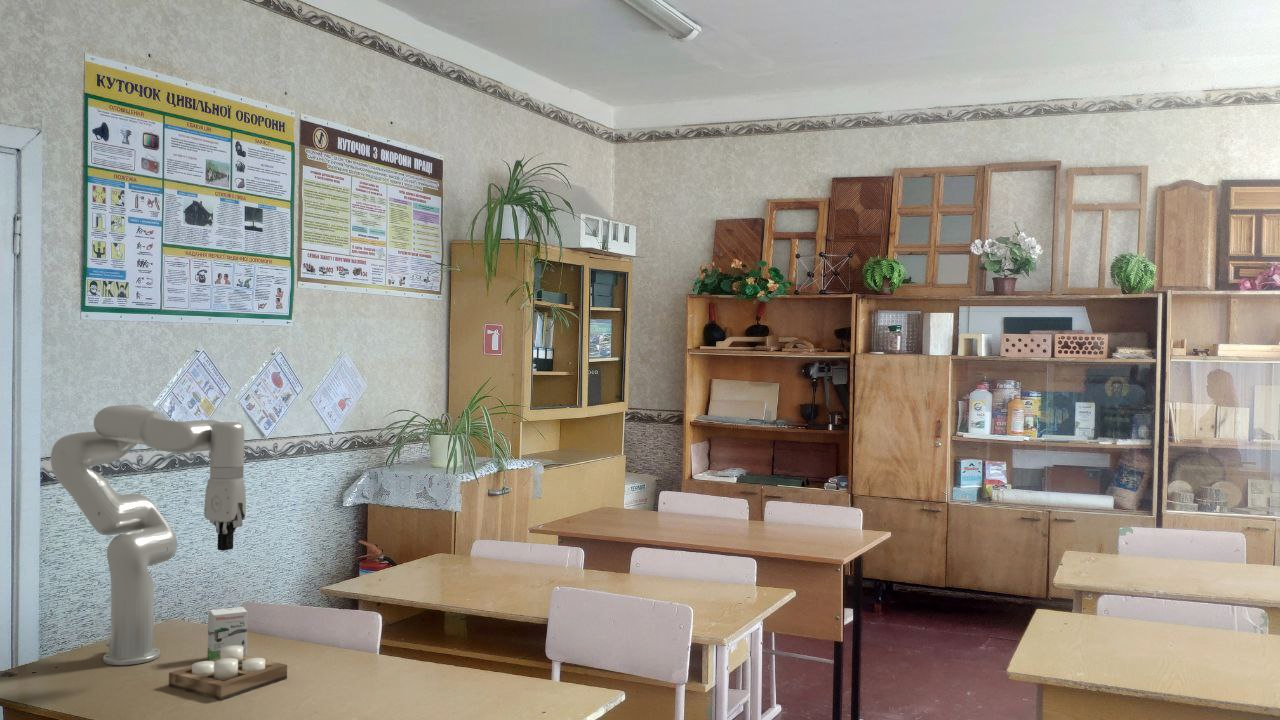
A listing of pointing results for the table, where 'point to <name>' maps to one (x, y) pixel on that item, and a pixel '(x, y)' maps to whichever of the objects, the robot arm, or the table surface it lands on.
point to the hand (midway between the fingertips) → (225, 549)
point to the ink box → (226, 630)
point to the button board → (230, 687)
